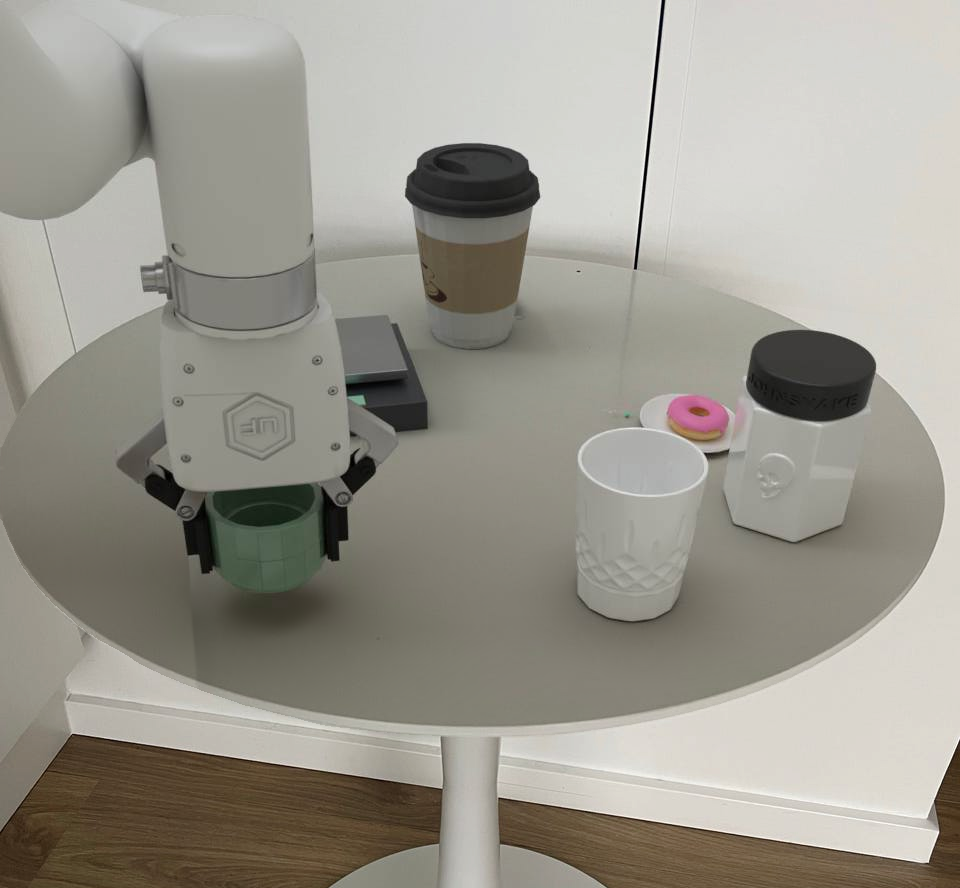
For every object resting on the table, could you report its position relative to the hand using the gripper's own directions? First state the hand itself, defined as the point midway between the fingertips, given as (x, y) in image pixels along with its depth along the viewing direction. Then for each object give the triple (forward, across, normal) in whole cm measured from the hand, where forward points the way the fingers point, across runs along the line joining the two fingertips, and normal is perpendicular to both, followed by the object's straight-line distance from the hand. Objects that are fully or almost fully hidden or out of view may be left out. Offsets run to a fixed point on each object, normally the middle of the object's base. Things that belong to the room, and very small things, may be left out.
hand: (269, 552), depth 73 cm
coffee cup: (+4, +21, +36) cm, 42 cm away
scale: (+4, +7, +27) cm, 28 cm away
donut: (+3, +33, +16) cm, 37 cm away
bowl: (+1, 0, 0) cm, 1 cm away
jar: (+3, +37, +4) cm, 37 cm away
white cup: (+4, +23, -3) cm, 23 cm away
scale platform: (+1, +7, +28) cm, 28 cm away
